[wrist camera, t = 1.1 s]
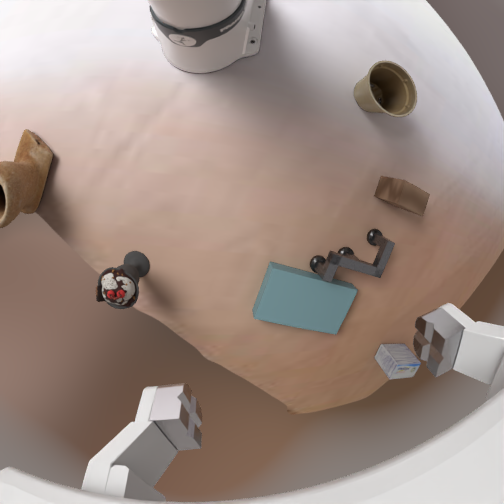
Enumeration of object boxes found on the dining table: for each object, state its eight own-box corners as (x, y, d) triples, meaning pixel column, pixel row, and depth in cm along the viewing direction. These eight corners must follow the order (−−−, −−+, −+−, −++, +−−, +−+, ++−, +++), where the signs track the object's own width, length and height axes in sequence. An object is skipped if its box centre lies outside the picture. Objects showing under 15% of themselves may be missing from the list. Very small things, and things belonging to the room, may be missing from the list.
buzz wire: (329, 211, 47) (342, 218, 41) (382, 231, 49) (399, 240, 43) (307, 268, 50) (317, 282, 44) (360, 283, 52) (374, 297, 46)
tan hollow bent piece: (45, 223, 42) (-3, 247, 28) (9, 198, 39) (-40, 215, 25) (70, 149, 39) (18, 150, 25) (31, 128, 36) (-21, 126, 22)
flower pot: (394, 121, 42) (422, 117, 34) (350, 122, 42) (375, 117, 34) (384, 74, 39) (409, 63, 31) (339, 72, 39) (361, 58, 31)
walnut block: (380, 176, 45) (405, 180, 38) (404, 188, 46) (429, 194, 39) (374, 196, 47) (397, 203, 39) (397, 207, 48) (422, 216, 40)
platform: (270, 261, 49) (272, 267, 46) (351, 283, 52) (357, 290, 49) (252, 310, 51) (253, 318, 49) (331, 326, 54) (336, 334, 52)
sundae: (159, 255, 46) (134, 296, 32) (146, 287, 48) (122, 334, 34) (126, 239, 45) (90, 273, 31) (115, 271, 47) (81, 313, 32)
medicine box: (373, 357, 59) (388, 380, 51) (380, 342, 58) (397, 365, 50) (397, 356, 60) (413, 377, 52) (404, 342, 59) (421, 363, 51)
